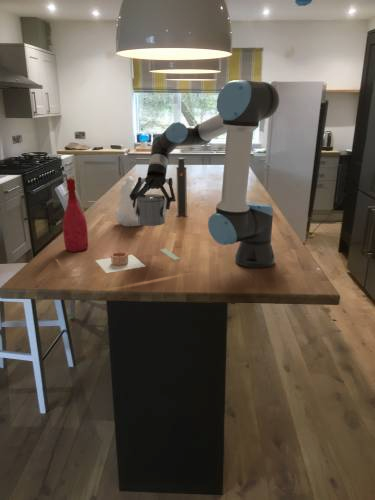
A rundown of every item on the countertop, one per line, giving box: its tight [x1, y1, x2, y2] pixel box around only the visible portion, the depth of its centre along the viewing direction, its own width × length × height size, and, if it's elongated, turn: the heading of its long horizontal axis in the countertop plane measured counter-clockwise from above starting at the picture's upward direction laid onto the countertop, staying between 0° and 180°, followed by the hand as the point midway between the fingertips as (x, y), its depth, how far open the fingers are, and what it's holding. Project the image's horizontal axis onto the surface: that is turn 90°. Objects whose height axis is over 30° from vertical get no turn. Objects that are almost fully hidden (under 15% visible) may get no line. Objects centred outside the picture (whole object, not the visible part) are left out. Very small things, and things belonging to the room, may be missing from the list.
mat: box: [160, 248, 181, 261], centre depth 163 cm, size 14×14×1 cm
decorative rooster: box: [115, 175, 141, 227], centre depth 204 cm, size 25×16×25 cm, turn 7°
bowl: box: [110, 251, 129, 266], centre depth 153 cm, size 6×6×4 cm
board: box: [94, 254, 146, 274], centre depth 154 cm, size 15×15×1 cm
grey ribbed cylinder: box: [137, 193, 166, 227], centre depth 156 cm, size 10×10×10 cm
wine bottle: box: [62, 178, 89, 253], centre depth 169 cm, size 10×10×30 cm
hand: (149, 215), depth 154 cm, fingers closed on grey ribbed cylinder, 11 cm apart
